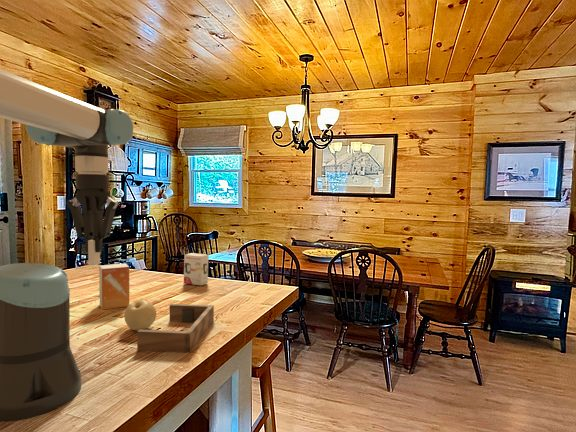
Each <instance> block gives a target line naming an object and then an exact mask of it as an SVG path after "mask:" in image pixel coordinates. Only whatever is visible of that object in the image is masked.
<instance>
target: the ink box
mask: <svg viewBox="0 0 576 432" xmlns="http://www.w3.org/2000/svg"><path fill="white" fill-rule="evenodd" d="M183 257H184V260H183V262H184V263H183V284H189V285H194V286H196V285H197V286H203V285H206V284H208V283H209V281H208V280H209V278H208V277H209V254H206V253H205V254H204V253H198V252H197V253H196V252H190V253H186V254H184V256H183Z"/></svg>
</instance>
